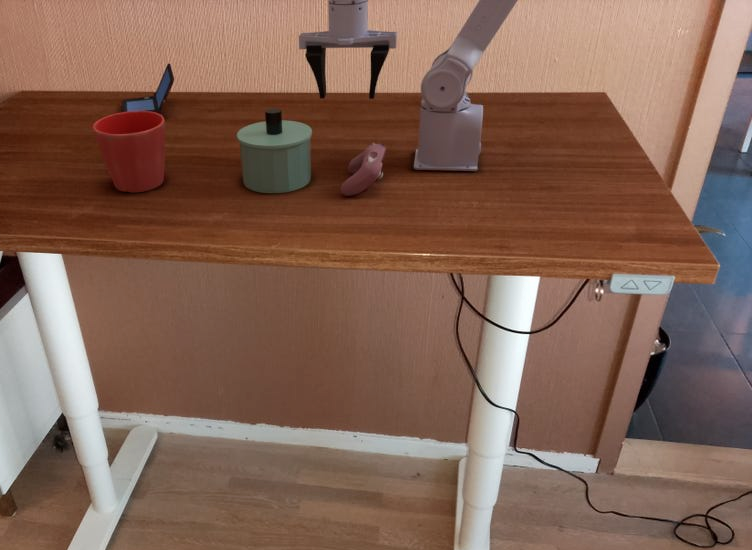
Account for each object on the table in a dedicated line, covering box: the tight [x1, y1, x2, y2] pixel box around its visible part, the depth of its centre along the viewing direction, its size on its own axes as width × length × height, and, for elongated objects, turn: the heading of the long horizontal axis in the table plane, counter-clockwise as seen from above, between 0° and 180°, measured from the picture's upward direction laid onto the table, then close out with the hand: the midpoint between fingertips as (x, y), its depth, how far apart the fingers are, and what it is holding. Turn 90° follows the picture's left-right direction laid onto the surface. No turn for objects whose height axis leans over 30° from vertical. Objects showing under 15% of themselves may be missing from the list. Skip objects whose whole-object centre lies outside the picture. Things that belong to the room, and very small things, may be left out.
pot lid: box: [236, 107, 313, 149], centre depth 106 cm, size 11×11×4 cm
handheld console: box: [121, 62, 175, 116], centre depth 141 cm, size 12×11×7 cm
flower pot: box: [92, 111, 166, 193], centre depth 110 cm, size 11×11×10 cm
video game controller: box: [340, 141, 387, 197], centre depth 106 cm, size 10×5×7 cm, turn 168°
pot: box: [239, 138, 312, 194], centre depth 109 cm, size 10×10×7 cm
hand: (347, 96), depth 112 cm, fingers open, 7 cm apart
